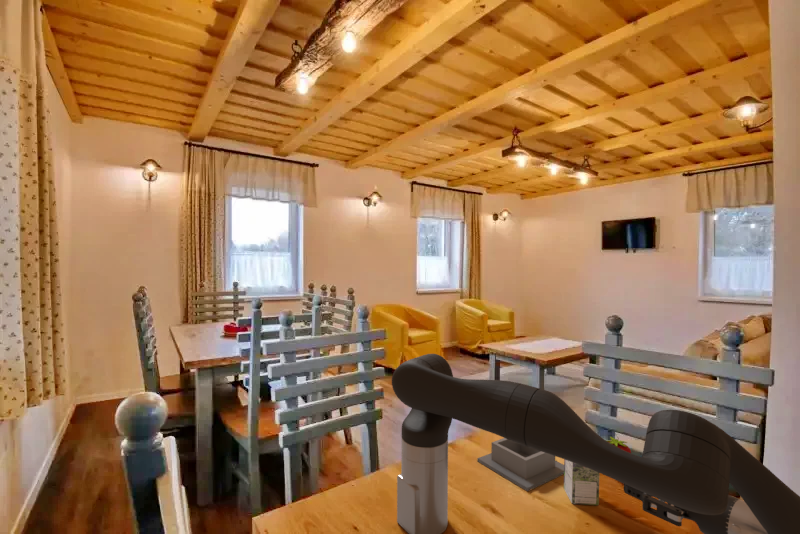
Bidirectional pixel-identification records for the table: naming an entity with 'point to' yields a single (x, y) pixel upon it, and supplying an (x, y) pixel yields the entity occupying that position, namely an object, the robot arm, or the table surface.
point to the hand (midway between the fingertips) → (636, 479)
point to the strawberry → (619, 444)
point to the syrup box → (581, 484)
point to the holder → (521, 464)
